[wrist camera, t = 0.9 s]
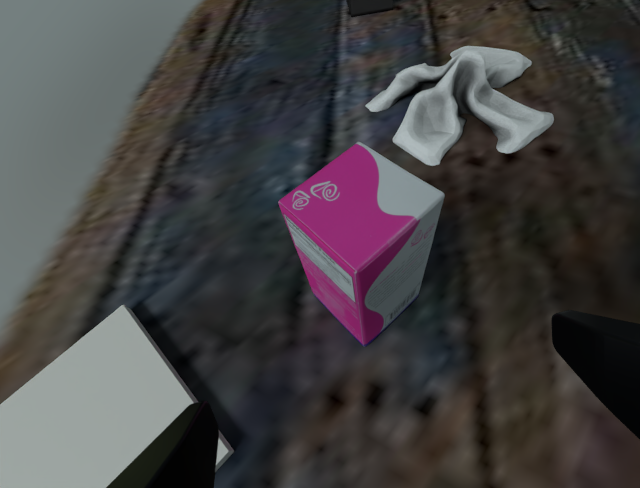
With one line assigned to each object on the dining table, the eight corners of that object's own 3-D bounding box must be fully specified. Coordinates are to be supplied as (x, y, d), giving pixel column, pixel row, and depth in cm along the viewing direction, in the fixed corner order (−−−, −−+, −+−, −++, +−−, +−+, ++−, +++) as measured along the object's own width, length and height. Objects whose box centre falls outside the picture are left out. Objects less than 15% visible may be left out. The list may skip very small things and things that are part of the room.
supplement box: (363, 247, 27) (361, 135, 17) (420, 296, 24) (455, 195, 15) (309, 293, 25) (274, 197, 16) (364, 350, 23) (361, 278, 13)
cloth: (510, 44, 40) (531, -16, 35) (595, 145, 30) (642, 83, 25) (331, 77, 41) (326, 23, 36) (356, 186, 31) (354, 134, 26)
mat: (234, 451, 20) (228, 451, 20) (13, 695, 16) (-6, 708, 15) (130, 309, 27) (123, 304, 26) (-49, 457, 22) (-66, 457, 21)
